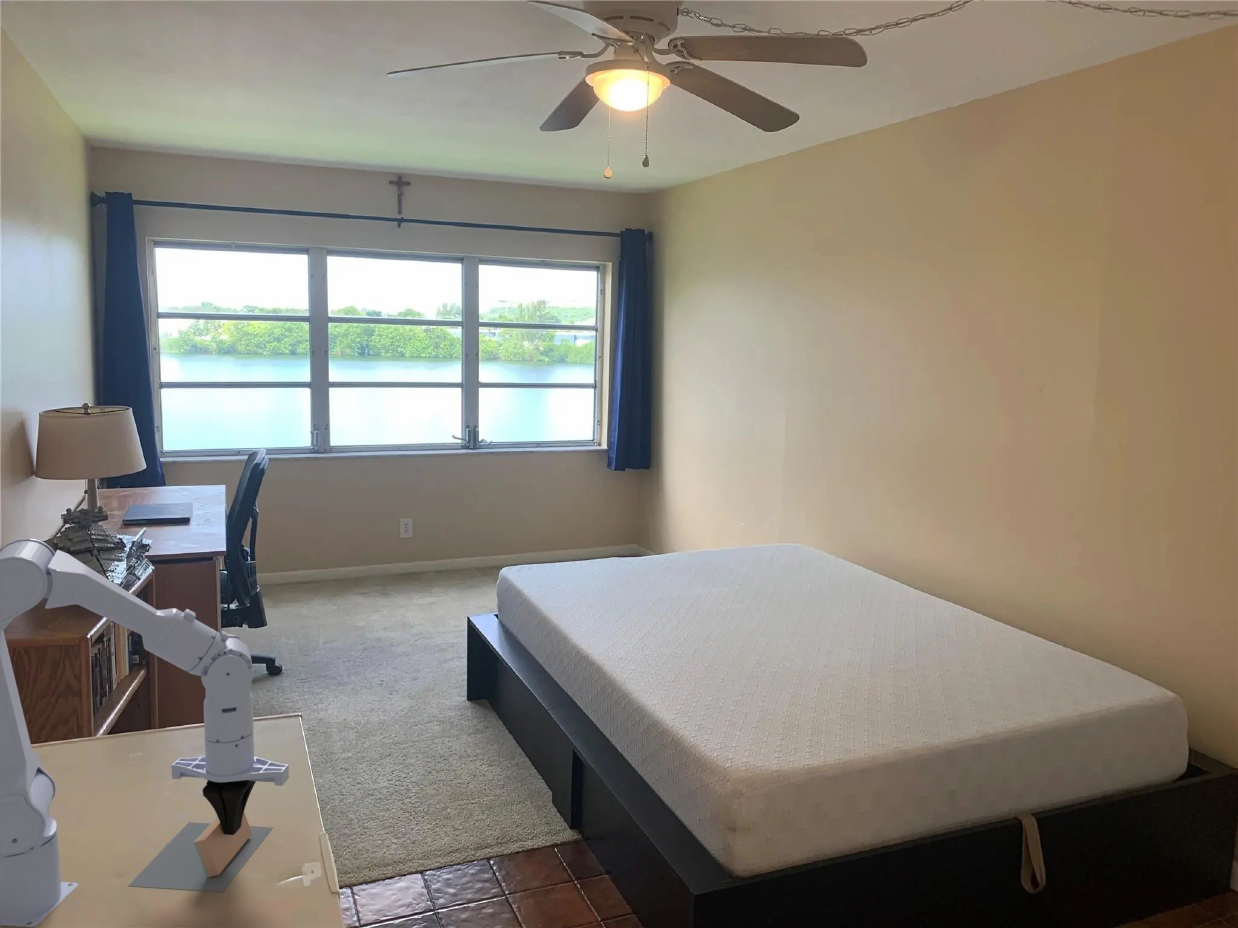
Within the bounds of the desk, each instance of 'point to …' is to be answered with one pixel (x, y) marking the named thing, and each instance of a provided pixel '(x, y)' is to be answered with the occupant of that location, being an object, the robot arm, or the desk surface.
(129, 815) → the desk surface
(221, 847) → the tan wooden block
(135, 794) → the desk surface
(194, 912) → the desk surface
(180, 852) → the mat
